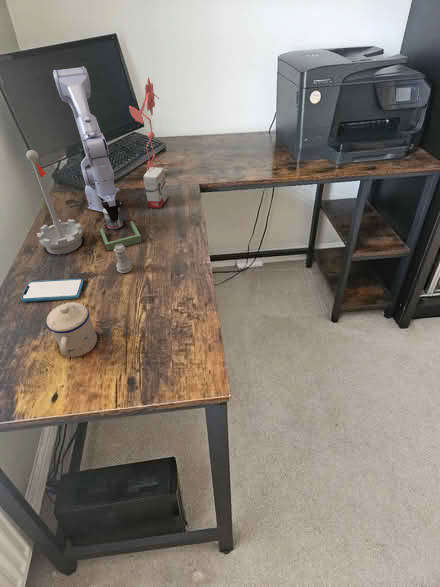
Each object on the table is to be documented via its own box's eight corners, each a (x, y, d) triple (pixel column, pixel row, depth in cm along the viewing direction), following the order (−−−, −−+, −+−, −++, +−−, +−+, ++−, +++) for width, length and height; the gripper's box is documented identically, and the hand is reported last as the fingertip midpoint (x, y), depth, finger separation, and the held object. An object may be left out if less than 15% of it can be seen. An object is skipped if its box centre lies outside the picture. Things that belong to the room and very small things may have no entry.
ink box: (161, 208, 137) (156, 177, 129) (148, 207, 138) (142, 176, 130) (168, 197, 144) (164, 166, 136) (155, 196, 144) (151, 166, 137)
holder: (101, 235, 125) (99, 228, 124) (134, 227, 128) (132, 220, 127) (107, 250, 118) (105, 244, 117) (141, 241, 122) (140, 235, 120)
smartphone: (77, 296, 101) (20, 299, 101) (79, 299, 102) (21, 302, 101) (83, 278, 107) (28, 281, 106) (84, 281, 108) (30, 284, 107)
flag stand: (35, 245, 122) (-5, 152, 102) (71, 228, 129) (41, 138, 109) (56, 261, 115) (17, 164, 95) (93, 242, 122) (64, 148, 102)
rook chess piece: (135, 266, 112) (130, 243, 107) (127, 275, 109) (121, 252, 104) (121, 263, 113) (116, 240, 108) (114, 272, 110) (107, 249, 105)
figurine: (138, 185, 152) (120, 88, 129) (151, 159, 172) (137, 71, 149) (177, 185, 151) (165, 86, 128) (185, 159, 170) (176, 69, 147)
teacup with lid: (64, 330, 93) (48, 294, 86) (101, 327, 93) (89, 291, 86) (50, 370, 84) (31, 334, 77) (92, 367, 84) (77, 331, 77)
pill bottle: (116, 219, 133) (110, 196, 127) (126, 224, 130) (120, 200, 124) (104, 226, 130) (97, 202, 124) (113, 231, 127) (107, 207, 121)
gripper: (121, 184, 115) (130, 223, 124) (111, 166, 125) (119, 204, 134) (97, 189, 113) (108, 229, 122) (89, 171, 123) (99, 209, 132)
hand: (113, 216), depth 127 cm, fingers closed on pill bottle, 5 cm apart
